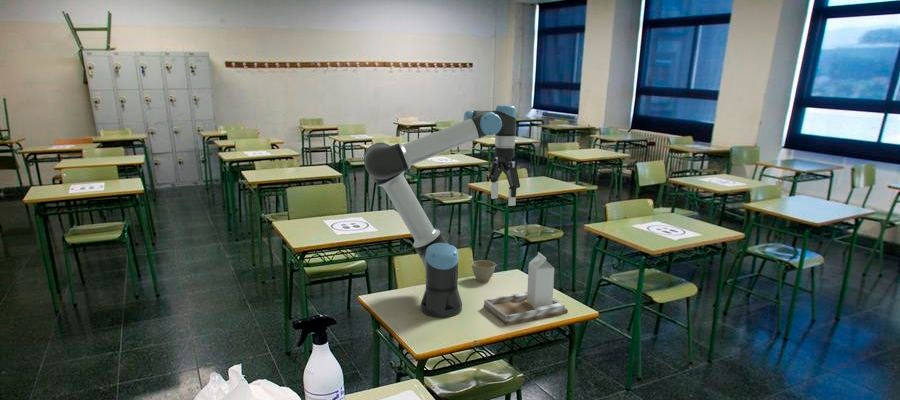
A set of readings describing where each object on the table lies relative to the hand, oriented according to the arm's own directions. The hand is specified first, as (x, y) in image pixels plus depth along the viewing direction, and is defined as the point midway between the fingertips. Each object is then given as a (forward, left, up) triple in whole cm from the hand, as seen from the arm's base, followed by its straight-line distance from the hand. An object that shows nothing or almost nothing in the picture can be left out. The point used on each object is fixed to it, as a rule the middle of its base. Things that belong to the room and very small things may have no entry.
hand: (502, 201), depth 200 cm
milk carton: (+18, -10, -36) cm, 41 cm away
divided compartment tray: (+13, -14, -37) cm, 42 cm away
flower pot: (-10, +10, -37) cm, 39 cm away
